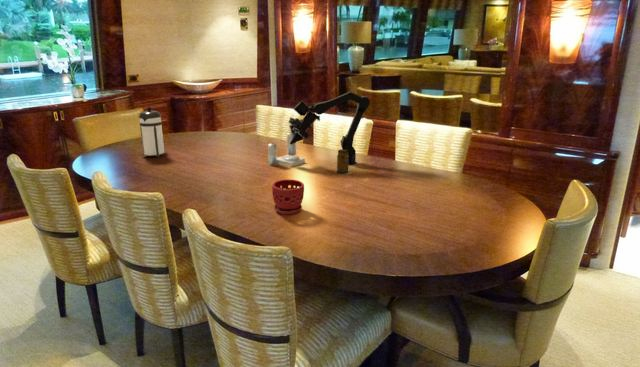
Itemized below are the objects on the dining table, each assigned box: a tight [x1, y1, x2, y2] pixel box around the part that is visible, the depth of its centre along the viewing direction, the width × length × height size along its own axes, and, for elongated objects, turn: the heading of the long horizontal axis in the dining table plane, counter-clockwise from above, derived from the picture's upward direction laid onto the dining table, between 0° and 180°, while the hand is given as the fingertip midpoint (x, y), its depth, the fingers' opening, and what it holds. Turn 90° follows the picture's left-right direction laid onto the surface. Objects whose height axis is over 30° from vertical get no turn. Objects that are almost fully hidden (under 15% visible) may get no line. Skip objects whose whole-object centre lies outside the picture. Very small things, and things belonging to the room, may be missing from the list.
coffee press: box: [138, 106, 167, 159], centre depth 281 cm, size 17×16×30 cm
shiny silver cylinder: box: [286, 131, 297, 156], centre depth 258 cm, size 5×5×12 cm
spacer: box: [267, 142, 278, 167], centre depth 263 cm, size 5×5×12 cm
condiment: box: [333, 148, 353, 175], centre depth 248 cm, size 7×8×12 cm
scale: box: [277, 154, 306, 168], centre depth 268 cm, size 14×12×3 cm
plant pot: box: [271, 179, 305, 215], centre depth 193 cm, size 13×13×12 cm
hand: (289, 143), depth 258 cm, fingers closed on shiny silver cylinder, 5 cm apart
